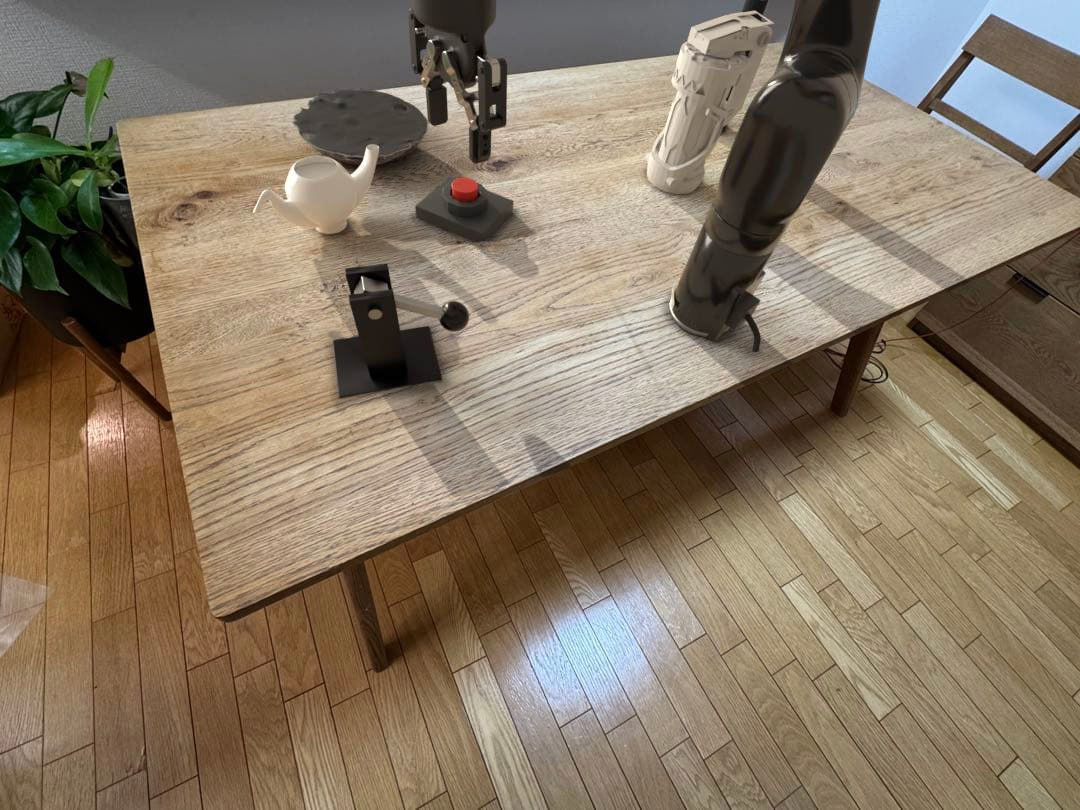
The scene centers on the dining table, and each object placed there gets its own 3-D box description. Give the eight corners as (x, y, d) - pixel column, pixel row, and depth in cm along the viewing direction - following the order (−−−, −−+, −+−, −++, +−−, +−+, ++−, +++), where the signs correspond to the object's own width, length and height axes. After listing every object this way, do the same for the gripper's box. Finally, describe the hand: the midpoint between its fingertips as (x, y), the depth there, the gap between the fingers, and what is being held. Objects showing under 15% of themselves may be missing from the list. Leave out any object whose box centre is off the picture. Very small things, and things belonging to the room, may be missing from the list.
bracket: (429, 331, 68) (419, 247, 57) (442, 385, 64) (435, 304, 52) (334, 346, 65) (304, 259, 54) (340, 403, 61) (309, 321, 49)
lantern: (664, 199, 91) (718, 37, 71) (634, 167, 96) (677, 7, 76) (721, 187, 95) (789, 31, 75) (690, 157, 100) (745, 3, 80)
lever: (456, 319, 64) (471, 299, 62) (463, 340, 62) (477, 320, 60) (350, 291, 56) (363, 266, 54) (354, 315, 54) (367, 290, 52)
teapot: (252, 233, 75) (226, 174, 68) (369, 187, 85) (359, 130, 77) (286, 268, 72) (264, 210, 64) (404, 216, 81) (397, 160, 74)
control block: (512, 212, 85) (514, 190, 81) (482, 245, 79) (482, 223, 76) (450, 187, 87) (449, 165, 83) (416, 218, 81) (413, 195, 78)
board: (417, 112, 99) (414, 84, 95) (441, 177, 88) (440, 148, 84) (296, 119, 94) (287, 89, 89) (305, 190, 82) (296, 159, 78)
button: (482, 193, 81) (482, 183, 79) (469, 206, 78) (469, 195, 77) (460, 184, 81) (460, 174, 80) (447, 197, 79) (446, 186, 78)
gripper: (538, -22, 42) (523, 165, 56) (447, -77, 48) (453, 104, 61) (460, -11, 39) (464, 184, 52) (372, -71, 45) (395, 118, 58)
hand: (458, 141), depth 57 cm, fingers open, 8 cm apart
